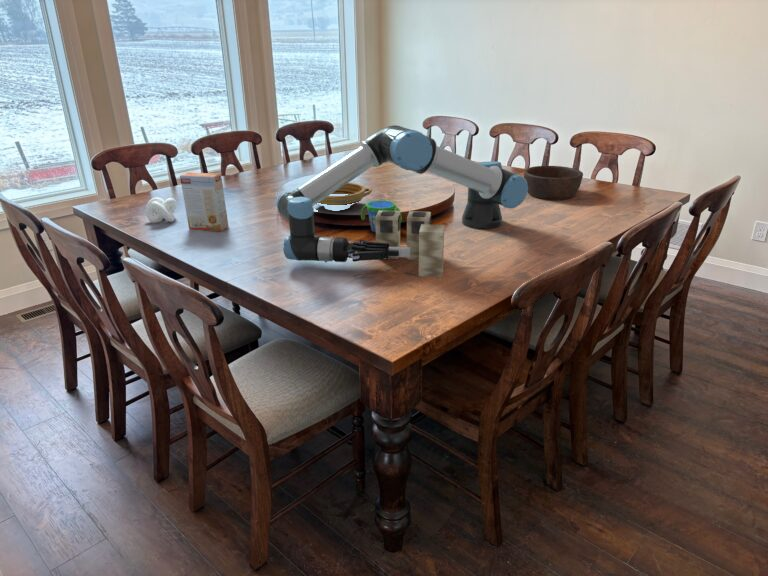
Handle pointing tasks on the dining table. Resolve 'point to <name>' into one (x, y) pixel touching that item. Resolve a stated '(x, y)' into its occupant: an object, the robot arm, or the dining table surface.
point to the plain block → (431, 250)
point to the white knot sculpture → (160, 209)
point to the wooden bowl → (553, 182)
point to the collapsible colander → (353, 196)
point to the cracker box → (204, 201)
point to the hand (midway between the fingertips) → (410, 252)
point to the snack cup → (375, 207)
